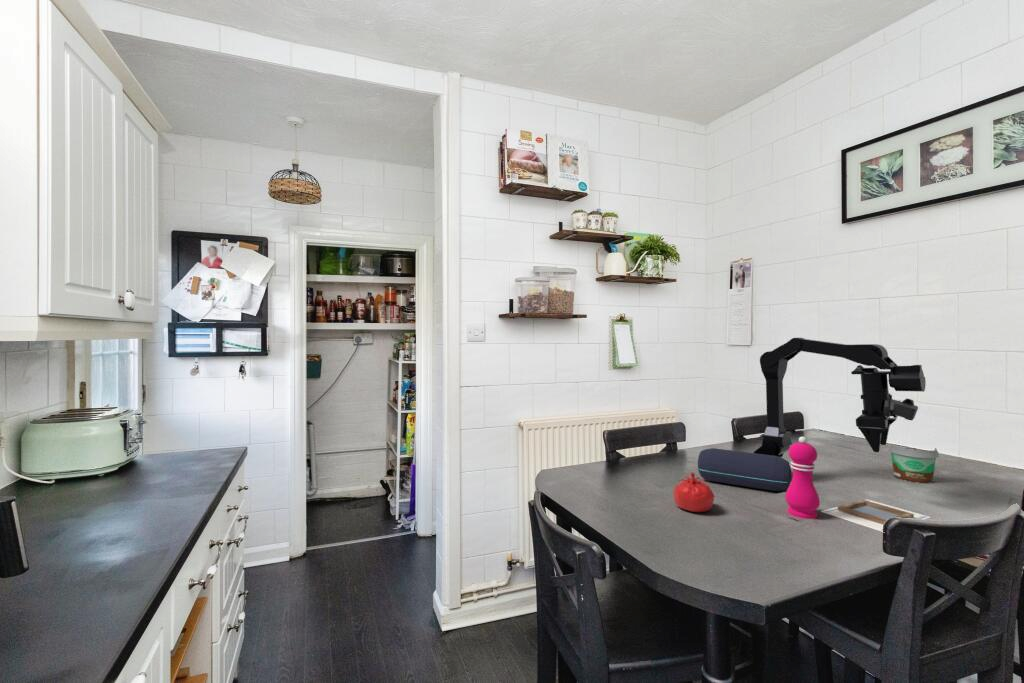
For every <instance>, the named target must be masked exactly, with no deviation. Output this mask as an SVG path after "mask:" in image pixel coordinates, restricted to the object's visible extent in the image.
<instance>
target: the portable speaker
mask: <svg viewBox="0 0 1024 683" xmlns="http://www.w3.org/2000/svg"><path fill="white" fill-rule="evenodd" d="M697 470H698V474H699V476H700V477H701V478H702V479H703V480H707V481H708V482H716V483H720V484H725V485H734V486H739V487H744V488H745V487H746V488H751V489H759V490H764V491H770V492H776V491H777V492H780V493H781V492H787V489H788V487H789V486H790V484H791V481H792V468H791V464H790V462H789V461H788V460H786V459H785V458H783V457H778V456H772V455H764V454H756V453H754V452H746V451H741V450H740V451H739V450H729V449H723V448H716V447H715V448H714V447H711V448H705V449H702V450H700V451H699V454H698V458H697Z"/></svg>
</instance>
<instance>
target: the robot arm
mask: <svg viewBox="0 0 1024 683" xmlns="http://www.w3.org/2000/svg"><path fill="white" fill-rule="evenodd" d="M801 352H804V353H810V354H817V355H824V356H832V357H838V358H842V359H846V360H848V361H851V362H853V363H857V364H859V365H857V366H856V367H855V369H853V370H851V372H850V374H851V375H860V384H861V393H862V394H861V395H860V400H862V406H863V409H862V410H861V414H860V415H859V416H858V417H856V418H855V426H856V427H857V428H858V430H859V431H860V432H861V434H862V435H863V436H864V438H865V440H866V442H867V443H868V444H869V446H870V448H871V450H872V452H874V453H879V452H880V449H881V446H886V445H887V441H888V435H889V431H890V426H891V425H892V424H893V423H895V422H896V421H897V420H898V419H897V418H898V417H900V418H904V420H907V421H913V420H914V419H915V417H916V415H917V412H918V410H919V407H918V405H915V402H914V399H911V398H905V399H903V400H902V401H901V400H897V399H893V394H891V393H890V392H889V387H890V388H891V389H892V388H893V389H894V391H896V392H925V391H926V385H927V384H926V381H927V380H926V377H925V374H924V370H923V366H922V364H913V365H898V364H897V363H896V362H895V361H894V360H893V359H892V358H891V357H890V356H889V355H888V350H887V349H886V347H884V346H883V345H881V344H878V343H877V344H876V343H874V344H873V343H871V344H870V343H869V344H868V343H867V344H861V343H859V344H844V343H838V342H831V341H823V340H816V339H814V340H813V339H807V338H804V337H791V339H789V340H788V341H787V342H785V343H783V344H781V345H779V346H778V347H776V348H774V349H773V350H769V351H766V352H764V353H763V354H762V355H761V356H759V363H760V368H761V373H762V375H763V376H764V380H765V393H766V394H765V396H766V398H765V399H766V426H765V429H764V433H763V435H762V441H761V446H759V447H758V448H757V449H756V450H754V451H753V453H756V454H764V455H772V456H778V457H781V458H783V456H784V455H785V453H786V452H789V448H790V446H791V445H793V442H792V431H787V429H786V428H785V425H784V424H785V423H784V385H783V384H784V383H783V381H784V378H785V375H786V372H787V368H788V362H789V361H790V360H792V359H793V358H795V357H796V356H797V355H798V354H799V353H801ZM862 365H863V366H862ZM864 366H866V367H864ZM867 366H868V367H867ZM872 366H873V367H872ZM886 370H887V371H886Z"/></svg>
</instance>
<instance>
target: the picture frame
mask: <svg viewBox="0 0 1024 683" xmlns="http://www.w3.org/2000/svg"><path fill="white" fill-rule="evenodd" d="M864 500H866V501H870V502H873V503H877V504H880V505H884V506H887V507H891V508H894V509H898V510H901V511H905V512H908V513H912V514H914V519H922V521H925V520H928V519H930V518H932V517H931V516H929V515H928V516H927V515H924V514H921V513H917V512H914V511H910V510H906V509H903V508H900V507H896V506H893V505H888V504H886V503H883V502H882V503H881V502H879V501H875V500H871V499H868V498H866V499H864ZM852 510H856V511H859V512H862V513H865V514H869V515H872V516H875V517H878V518H882V519H885V520H886V519H889V518H892V517H896V516H899V515H897V514H893V513H890V512H887V511H883V510H880V509H876V508H873V507H870V506H866V505H865V506H861V507H857V508H854V509H852ZM820 513H824V514H826V515H829V516H830V515H831V516H833V517H835V518H836V517H837V518H839V519H842V520H846V521H849V522H851V523H854V524H857V525H860V526H864V527H867V528H870V529H873V530H876V531H878V532H882V533H884V532H883V525H882V524H879V523H876V522H873V521H870V520H867V519H863V518H860V517H857V516H854V515H851V514H848V513H845V512H841V511H838V506H836V507H832V508H828V509H824V510H821V511H820Z"/></svg>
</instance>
